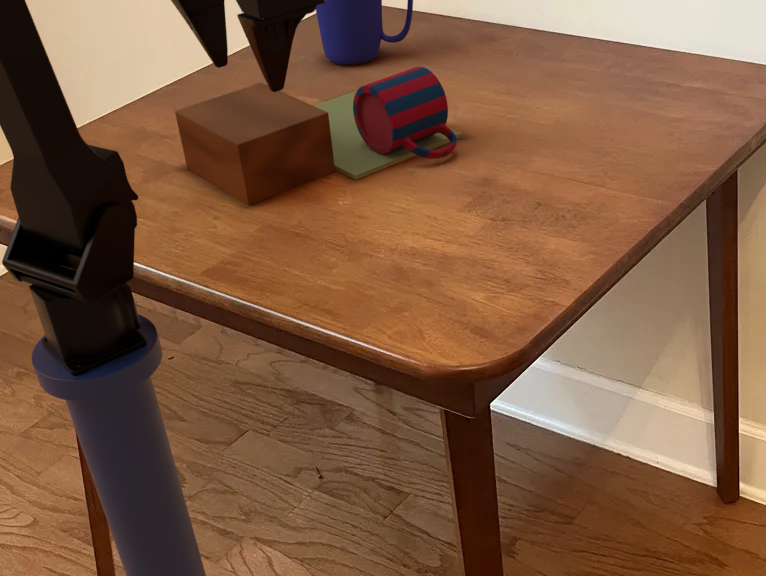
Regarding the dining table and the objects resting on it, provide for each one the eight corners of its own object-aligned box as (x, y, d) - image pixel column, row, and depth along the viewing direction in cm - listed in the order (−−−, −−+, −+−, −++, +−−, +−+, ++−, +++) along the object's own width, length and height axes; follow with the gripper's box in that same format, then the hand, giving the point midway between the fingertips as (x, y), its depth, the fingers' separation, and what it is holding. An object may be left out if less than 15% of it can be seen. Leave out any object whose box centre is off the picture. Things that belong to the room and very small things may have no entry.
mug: (418, 65, 122) (412, -23, 116) (317, 72, 123) (306, -16, 116) (417, 42, 129) (412, -43, 122) (321, 49, 129) (311, -35, 123)
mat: (355, 180, 98) (354, 175, 98) (256, 130, 110) (256, 125, 110) (462, 137, 105) (462, 132, 104) (358, 94, 116) (357, 89, 116)
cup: (349, 128, 104) (401, 108, 107) (409, 187, 100) (461, 165, 103) (356, 71, 98) (411, 53, 101) (420, 132, 95) (475, 111, 98)
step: (248, 205, 96) (237, 144, 92) (186, 168, 103) (174, 110, 100) (335, 171, 100) (328, 112, 97) (270, 138, 108) (261, 82, 104)
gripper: (372, -128, 77) (387, 78, 87) (243, -149, 89) (269, 34, 99) (246, -102, 72) (277, 115, 81) (127, -128, 84) (166, 63, 94)
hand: (248, 78), depth 89 cm, fingers open, 9 cm apart
